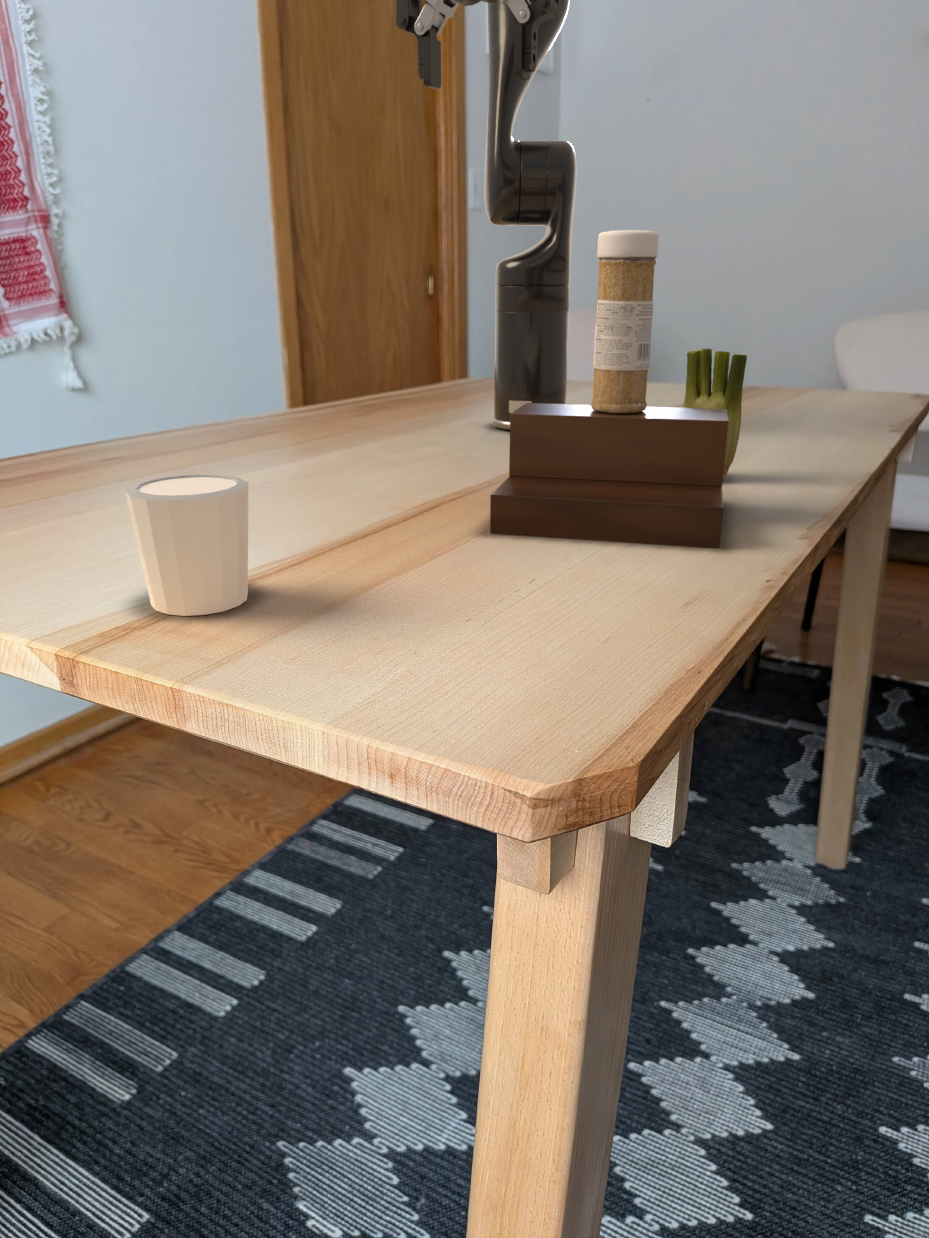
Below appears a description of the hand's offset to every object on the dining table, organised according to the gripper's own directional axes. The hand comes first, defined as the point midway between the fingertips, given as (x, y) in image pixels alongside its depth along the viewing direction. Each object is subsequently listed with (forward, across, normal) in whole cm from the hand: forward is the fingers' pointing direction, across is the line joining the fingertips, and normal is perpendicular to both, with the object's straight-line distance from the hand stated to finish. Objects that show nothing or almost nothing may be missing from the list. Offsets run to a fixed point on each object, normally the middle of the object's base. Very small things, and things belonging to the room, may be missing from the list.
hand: (476, 83), depth 79 cm
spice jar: (+26, -17, +10) cm, 33 cm away
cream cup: (+34, -1, +43) cm, 55 cm away
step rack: (+34, -18, +13) cm, 41 cm away
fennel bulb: (+34, -21, -6) cm, 41 cm away
